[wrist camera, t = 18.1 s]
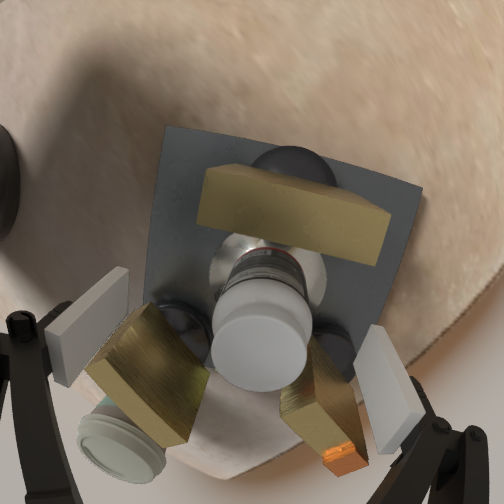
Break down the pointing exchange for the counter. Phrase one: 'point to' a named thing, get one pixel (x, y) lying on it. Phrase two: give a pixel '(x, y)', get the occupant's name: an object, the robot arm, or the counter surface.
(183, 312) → the foot screw
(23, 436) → the robot arm
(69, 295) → the counter surface
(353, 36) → the counter surface
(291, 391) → the tan bar on disc
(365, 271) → the plate
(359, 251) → the foot screw
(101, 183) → the counter surface
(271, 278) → the pill bottle
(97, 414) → the coffee cup
